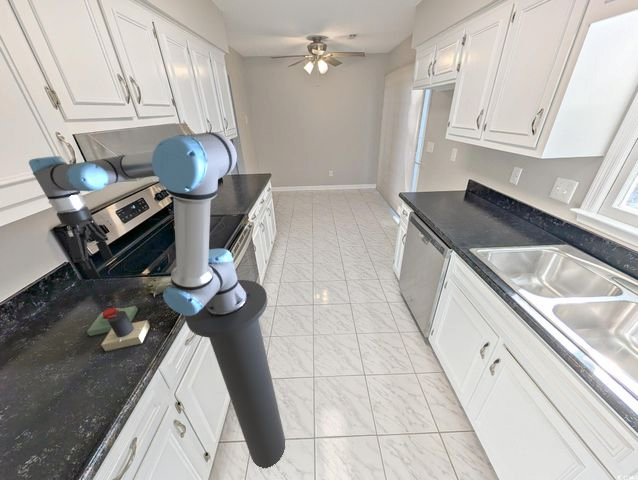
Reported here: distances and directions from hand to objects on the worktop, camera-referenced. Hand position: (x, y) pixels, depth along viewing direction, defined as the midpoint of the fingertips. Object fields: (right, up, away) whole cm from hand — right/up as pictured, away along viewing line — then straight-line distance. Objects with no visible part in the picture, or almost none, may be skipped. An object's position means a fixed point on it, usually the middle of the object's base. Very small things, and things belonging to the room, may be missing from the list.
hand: (102, 267), depth 88 cm
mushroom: (+8, -13, +25) cm, 29 cm away
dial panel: (+9, -25, 0) cm, 26 cm away
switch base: (-1, -22, +7) cm, 23 cm away
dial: (+9, -22, -2) cm, 24 cm away
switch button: (-2, -18, +6) cm, 19 cm away
